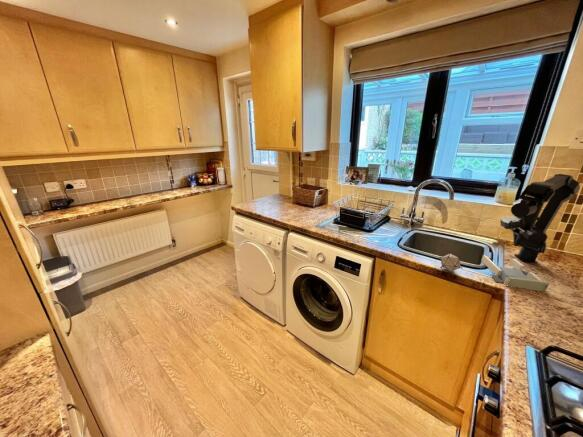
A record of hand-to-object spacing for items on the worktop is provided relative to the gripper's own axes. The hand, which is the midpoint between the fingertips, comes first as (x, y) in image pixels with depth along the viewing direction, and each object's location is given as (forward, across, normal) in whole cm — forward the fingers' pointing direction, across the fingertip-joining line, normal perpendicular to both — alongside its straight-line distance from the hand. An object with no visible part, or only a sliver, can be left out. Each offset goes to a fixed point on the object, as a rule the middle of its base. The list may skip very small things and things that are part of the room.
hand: (515, 245), depth 105 cm
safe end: (+12, +15, -2) cm, 19 cm away
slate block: (+12, +10, -4) cm, 16 cm away
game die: (+12, +9, -28) cm, 31 cm away
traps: (+12, +8, -2) cm, 14 cm away
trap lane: (+12, +6, -2) cm, 13 cm away
